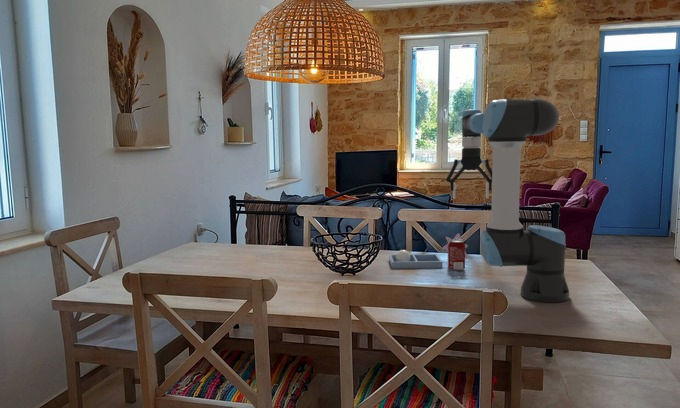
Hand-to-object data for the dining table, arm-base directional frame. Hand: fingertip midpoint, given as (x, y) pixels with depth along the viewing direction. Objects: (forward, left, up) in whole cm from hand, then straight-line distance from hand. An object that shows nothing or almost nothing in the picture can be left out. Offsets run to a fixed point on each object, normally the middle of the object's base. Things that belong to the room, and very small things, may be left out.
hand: (470, 198), depth 220 cm
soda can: (-13, +8, -27) cm, 31 cm away
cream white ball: (-4, +29, -27) cm, 39 cm away
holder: (-4, +24, -27) cm, 36 cm away
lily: (+9, +4, -28) cm, 29 cm away
